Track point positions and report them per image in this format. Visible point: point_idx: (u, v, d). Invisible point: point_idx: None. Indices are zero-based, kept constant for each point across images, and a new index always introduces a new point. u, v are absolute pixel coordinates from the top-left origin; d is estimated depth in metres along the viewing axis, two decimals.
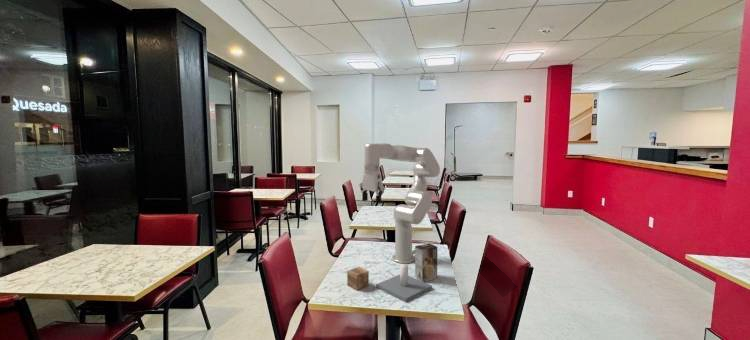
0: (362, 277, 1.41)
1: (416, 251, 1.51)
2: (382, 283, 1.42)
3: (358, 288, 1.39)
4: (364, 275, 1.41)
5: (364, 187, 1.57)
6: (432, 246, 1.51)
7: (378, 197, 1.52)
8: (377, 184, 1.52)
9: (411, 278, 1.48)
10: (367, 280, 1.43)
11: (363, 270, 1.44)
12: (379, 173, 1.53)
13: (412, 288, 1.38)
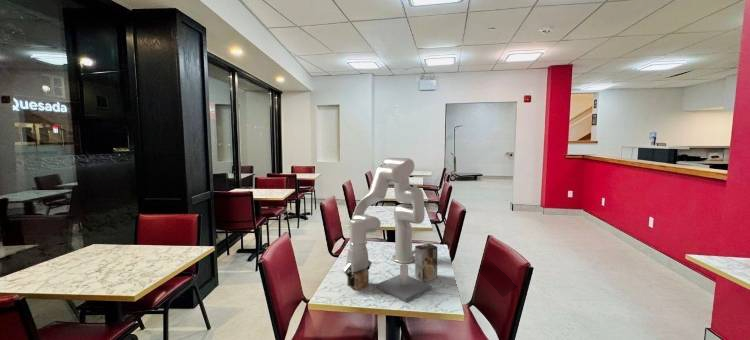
0: (362, 277, 1.41)
1: (416, 251, 1.51)
2: (382, 283, 1.42)
3: (358, 288, 1.39)
4: (364, 275, 1.41)
5: (355, 269, 1.39)
6: (432, 246, 1.51)
7: None
8: None
9: (411, 278, 1.48)
10: (367, 280, 1.43)
11: (363, 270, 1.44)
12: None
13: (412, 288, 1.38)
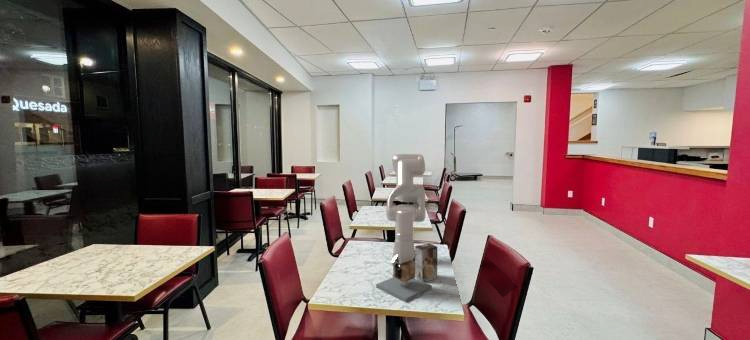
0: (409, 269, 1.38)
1: (416, 251, 1.51)
2: (382, 283, 1.42)
3: (405, 280, 1.37)
4: (411, 267, 1.38)
5: (403, 261, 1.37)
6: (432, 246, 1.51)
7: None
8: None
9: None
10: (414, 272, 1.40)
11: (409, 262, 1.41)
12: None
13: (412, 288, 1.38)
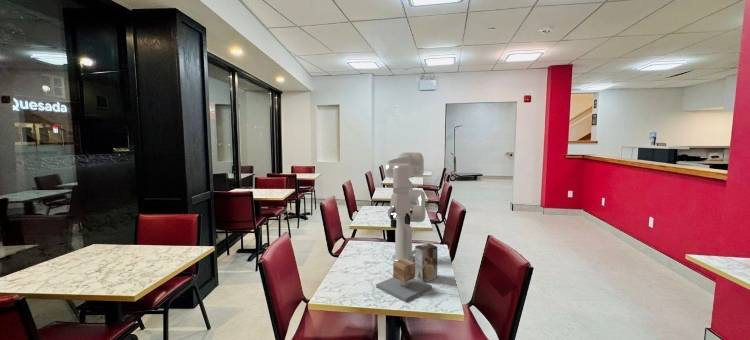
0: (409, 269, 1.38)
1: (416, 251, 1.51)
2: (382, 283, 1.42)
3: (405, 280, 1.37)
4: (411, 267, 1.39)
5: (399, 212, 1.45)
6: (432, 246, 1.51)
7: None
8: None
9: None
10: (414, 272, 1.40)
11: (409, 262, 1.41)
12: None
13: (412, 288, 1.38)
